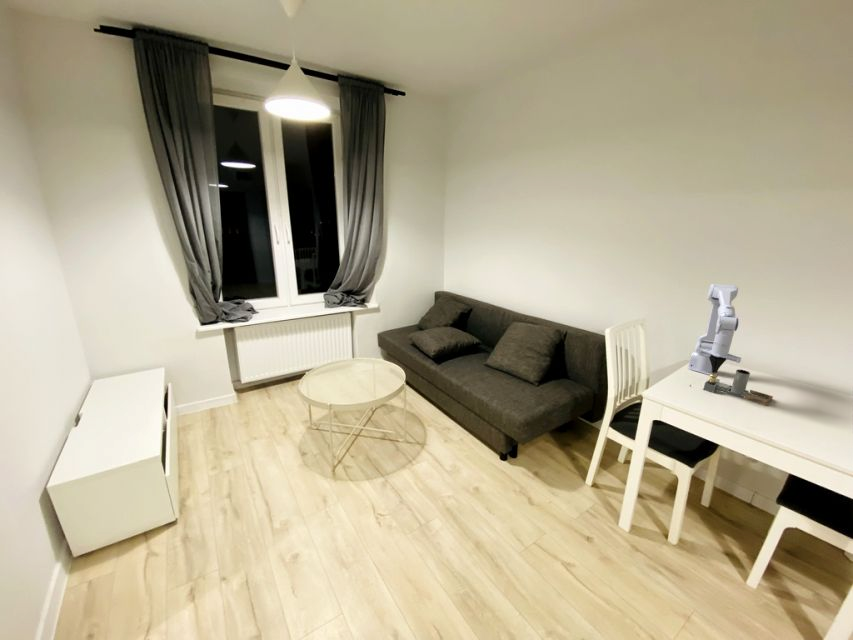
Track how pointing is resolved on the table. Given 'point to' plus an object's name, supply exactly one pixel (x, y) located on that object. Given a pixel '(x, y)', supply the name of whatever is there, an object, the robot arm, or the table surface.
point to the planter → (740, 382)
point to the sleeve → (732, 392)
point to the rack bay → (759, 399)
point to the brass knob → (712, 378)
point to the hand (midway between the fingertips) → (714, 372)
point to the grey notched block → (722, 385)
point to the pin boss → (710, 387)
